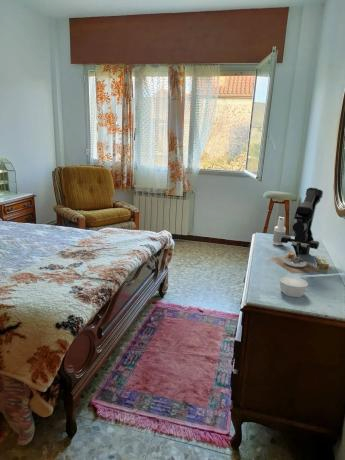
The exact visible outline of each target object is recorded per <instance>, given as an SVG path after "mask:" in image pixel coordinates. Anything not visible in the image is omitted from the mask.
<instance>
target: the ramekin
mask: <svg viewBox="0 0 345 460" xmlns="http://www.w3.org/2000/svg"><path fill="white" fill-rule="evenodd" d="M279 284H280V291H281V293H282V292H283V294H284V295H285V296H287V295H288V297H290V298H301V297H303V296H305V293H306V292H307V288H308V287H309V283H308V282H307V281H306V280H305V279H302V278H299V277H295V276H282V277H281V278H280V279H279Z"/></svg>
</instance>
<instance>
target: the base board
mask: <svg viewBox="0 0 345 460" xmlns="http://www.w3.org/2000/svg"><path fill="white" fill-rule="evenodd" d="M295 258H297V259H300V260H303V261H305V262H306V267H304V268H296V267H291V266H288V265H286V264H285V263H284V260H285V259H286V256H280V257H279V256H278V257H269V259H270V260H271V261H272V262H274V263H276V264H278V265H279V266H280V267H281V268H283V269H285V270H286V271H287V272H289V274H290V273H291V274H307V273H308V274H309V273H323V272H324V270H321V269H320V268H318V267H317V266H314V265H313V264H312V263H309V262H308V261H307V260H304V259H302V258H300V256H299V257H296V256H295Z"/></svg>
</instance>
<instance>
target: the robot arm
mask: <svg viewBox="0 0 345 460" xmlns="http://www.w3.org/2000/svg"><path fill="white" fill-rule="evenodd" d="M323 194H324V192H323V190H321V189H319V188H317V187H308V188H307V189H306V191H305V198H304V200H303V202H300V204H299V205H298V207H296V211H295V214H294V217H293V219H294V220H296V222H295V223H293V225H292V231H293V232H294V233H293V236H294V238H292V237H291V236H290V235H286V234H285V235H284V236H283V237H282V238H281V242H282V243H284V244H287V243H288V242H289V243H291V245H290V246H291V247H292V248H293V249H294V252H295V253H294V254H295V257H299V258H300V255H302V256H307V255H309V254H310V252H311V251H310V250H311V249H314V250H318V248H319V247H320V242H319V241H317V240H314V236H313V232H312V225H313V221H314V216H315V212H316V207H317V205H318V204H319V203H320V202H321V199H322V198H323Z"/></svg>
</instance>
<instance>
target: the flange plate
mask: <svg viewBox="0 0 345 460" xmlns="http://www.w3.org/2000/svg"><path fill="white" fill-rule="evenodd" d="M288 254H290V257H289V258H286V259H285V260H284V263H285V264H286V265H288V266H291V267H296V268H304V267H306V262H307V261H306V260H304V259H303V260H304V261H303V260H300V259H297V258H295V257H296V253H294V252H293V251H288ZM305 261H306V262H305Z"/></svg>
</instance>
